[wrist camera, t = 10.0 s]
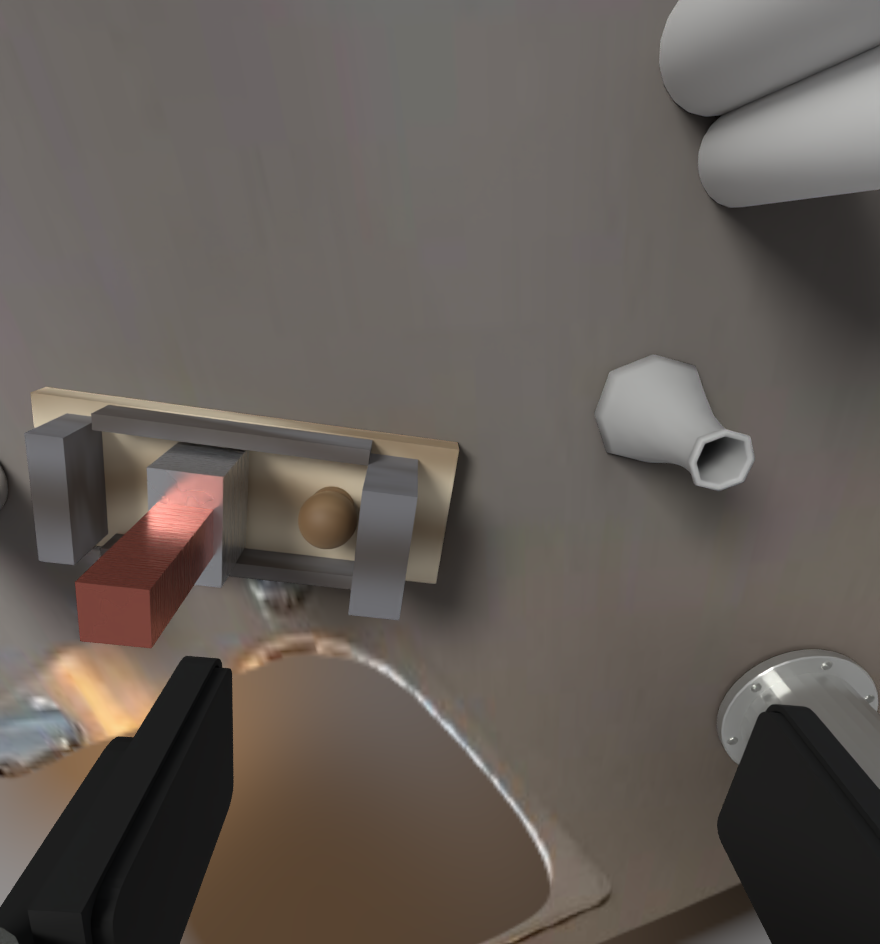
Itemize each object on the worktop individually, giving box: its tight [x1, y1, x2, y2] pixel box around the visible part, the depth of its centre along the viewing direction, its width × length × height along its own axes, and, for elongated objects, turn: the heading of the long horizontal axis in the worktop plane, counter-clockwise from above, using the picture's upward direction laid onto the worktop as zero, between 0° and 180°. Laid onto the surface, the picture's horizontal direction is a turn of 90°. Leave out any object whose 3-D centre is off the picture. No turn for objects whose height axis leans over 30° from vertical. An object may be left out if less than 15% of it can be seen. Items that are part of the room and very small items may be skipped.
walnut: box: [298, 486, 357, 549], centre depth 36 cm, size 4×4×4 cm
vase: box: [659, 0, 880, 208], centre depth 22 cm, size 11×7×20 cm, turn 32°
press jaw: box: [75, 441, 249, 648], centre depth 30 cm, size 7×4×13 cm, turn 171°
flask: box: [594, 354, 755, 491], centre depth 33 cm, size 7×7×10 cm
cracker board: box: [24, 387, 459, 620], centre depth 35 cm, size 10×26×8 cm, turn 81°
